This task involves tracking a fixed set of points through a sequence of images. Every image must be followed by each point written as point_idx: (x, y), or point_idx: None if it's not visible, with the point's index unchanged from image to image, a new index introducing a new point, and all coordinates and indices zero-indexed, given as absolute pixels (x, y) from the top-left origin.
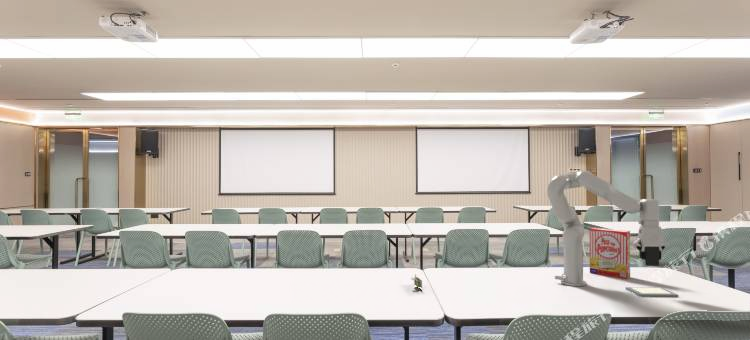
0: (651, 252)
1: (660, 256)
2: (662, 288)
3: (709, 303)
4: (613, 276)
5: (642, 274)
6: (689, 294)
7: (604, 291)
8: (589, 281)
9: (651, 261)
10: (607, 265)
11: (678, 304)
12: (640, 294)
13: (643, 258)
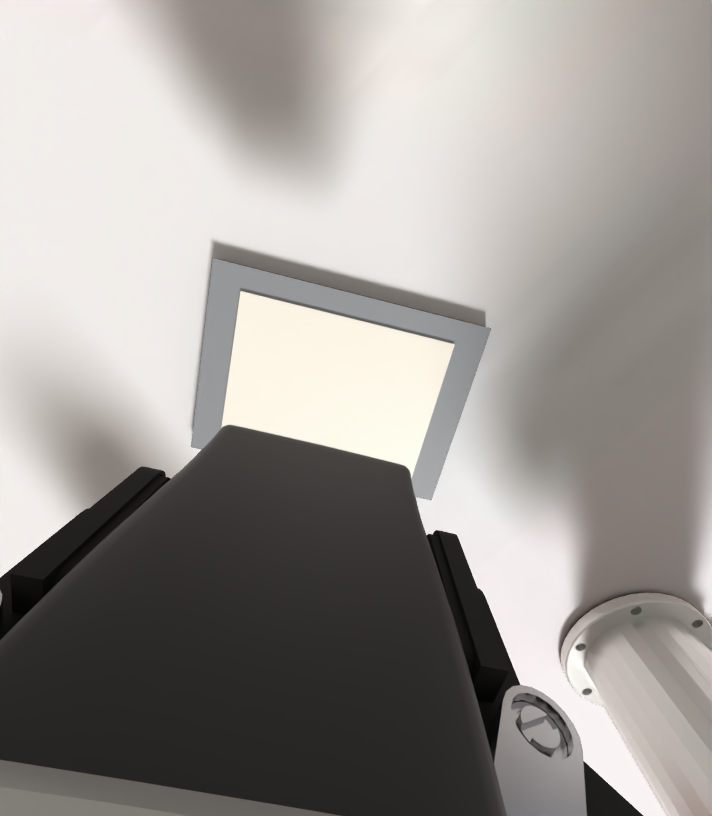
0: (309, 600)
1: (118, 496)
2: (201, 427)
3: (107, 38)
4: None
5: None
6: (88, 299)
7: (605, 479)
8: None
9: (330, 477)
10: None
11: (379, 73)
12: (485, 329)
13: (456, 548)
